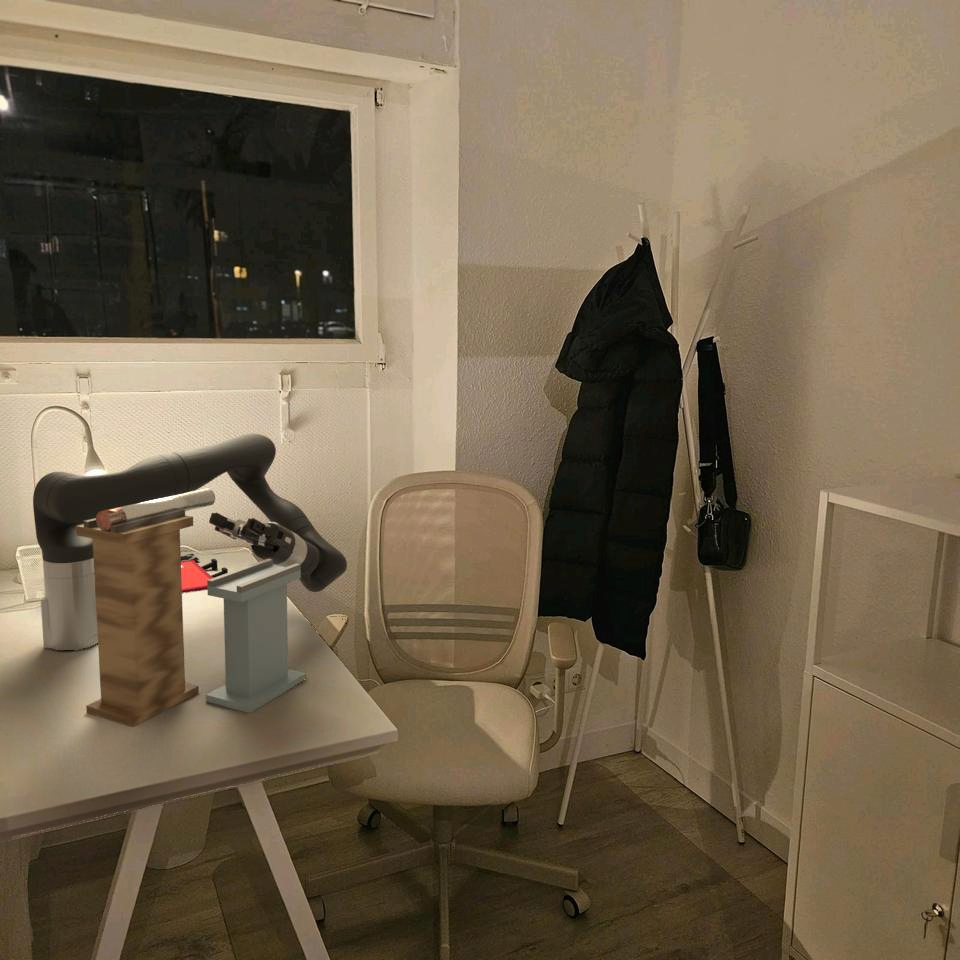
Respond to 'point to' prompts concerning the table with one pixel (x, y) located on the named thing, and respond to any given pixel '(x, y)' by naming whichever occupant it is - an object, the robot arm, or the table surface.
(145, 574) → the stand
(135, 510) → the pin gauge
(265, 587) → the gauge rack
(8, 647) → the table surface
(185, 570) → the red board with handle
